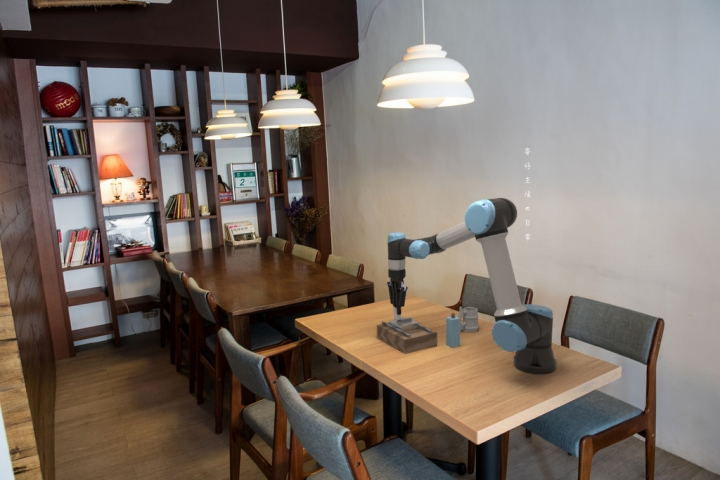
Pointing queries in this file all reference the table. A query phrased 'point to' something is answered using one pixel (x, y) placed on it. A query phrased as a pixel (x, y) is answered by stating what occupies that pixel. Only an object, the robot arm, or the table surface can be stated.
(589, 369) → the table surface
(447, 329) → the blue square bottle
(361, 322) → the table surface
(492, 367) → the table surface
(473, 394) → the table surface
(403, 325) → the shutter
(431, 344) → the socket box
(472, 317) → the mug
